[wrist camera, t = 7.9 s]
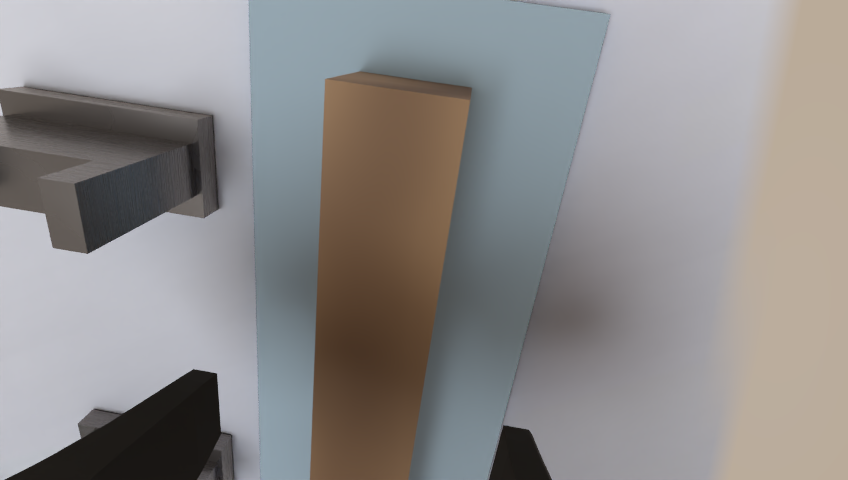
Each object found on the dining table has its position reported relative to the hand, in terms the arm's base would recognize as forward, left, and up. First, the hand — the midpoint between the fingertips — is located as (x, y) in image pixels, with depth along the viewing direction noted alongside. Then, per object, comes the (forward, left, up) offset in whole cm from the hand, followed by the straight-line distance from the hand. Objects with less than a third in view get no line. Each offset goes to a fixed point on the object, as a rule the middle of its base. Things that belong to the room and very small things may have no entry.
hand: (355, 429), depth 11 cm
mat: (0, 0, -5) cm, 5 cm away
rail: (0, 0, -4) cm, 4 cm away
